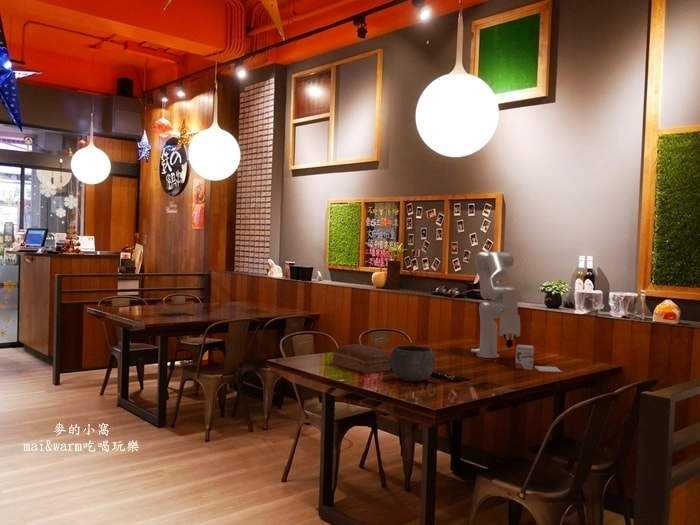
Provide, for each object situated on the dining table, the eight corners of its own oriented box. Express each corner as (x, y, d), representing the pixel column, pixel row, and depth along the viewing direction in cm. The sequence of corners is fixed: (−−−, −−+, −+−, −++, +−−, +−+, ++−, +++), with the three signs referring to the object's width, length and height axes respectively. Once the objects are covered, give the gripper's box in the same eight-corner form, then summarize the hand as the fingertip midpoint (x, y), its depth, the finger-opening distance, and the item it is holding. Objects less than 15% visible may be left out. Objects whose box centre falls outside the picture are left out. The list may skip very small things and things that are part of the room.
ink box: (515, 368, 312) (515, 345, 311) (515, 367, 316) (516, 344, 316) (532, 370, 309) (533, 347, 308) (533, 368, 313) (533, 345, 313)
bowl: (403, 387, 264) (404, 352, 263) (382, 377, 283) (382, 345, 282) (443, 384, 272) (443, 350, 272) (419, 374, 291) (420, 343, 290)
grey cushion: (365, 374, 289) (366, 350, 289) (330, 364, 313) (330, 342, 313) (392, 371, 300) (393, 348, 299) (356, 361, 323) (357, 340, 323)
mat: (539, 371, 306) (539, 370, 306) (534, 366, 318) (534, 366, 318) (562, 372, 305) (562, 371, 305) (555, 367, 317) (555, 366, 317)
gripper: (496, 312, 309) (495, 348, 309) (526, 312, 308) (525, 349, 308) (494, 310, 316) (493, 346, 317) (523, 311, 315) (522, 346, 316)
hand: (509, 347), depth 312 cm, fingers closed
